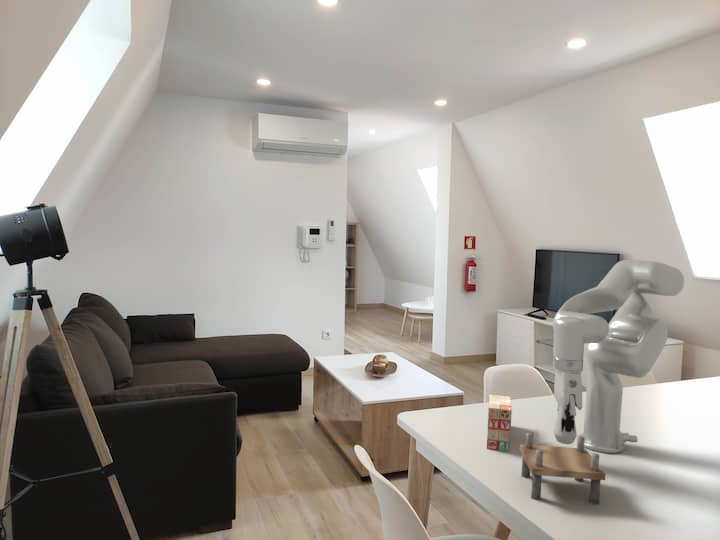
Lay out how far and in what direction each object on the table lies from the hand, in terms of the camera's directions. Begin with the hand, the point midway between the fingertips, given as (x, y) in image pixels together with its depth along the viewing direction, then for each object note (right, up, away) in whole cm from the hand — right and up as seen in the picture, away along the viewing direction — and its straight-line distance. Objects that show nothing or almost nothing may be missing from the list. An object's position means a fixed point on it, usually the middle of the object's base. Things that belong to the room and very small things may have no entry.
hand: (565, 429), depth 143 cm
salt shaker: (0, -3, 0) cm, 3 cm away
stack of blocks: (-14, -7, +16) cm, 23 cm away
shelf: (-8, -9, -15) cm, 20 cm away
